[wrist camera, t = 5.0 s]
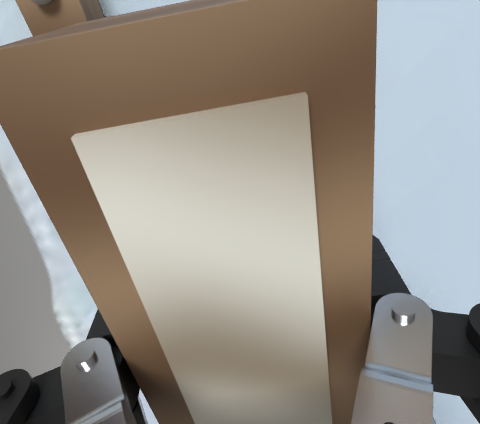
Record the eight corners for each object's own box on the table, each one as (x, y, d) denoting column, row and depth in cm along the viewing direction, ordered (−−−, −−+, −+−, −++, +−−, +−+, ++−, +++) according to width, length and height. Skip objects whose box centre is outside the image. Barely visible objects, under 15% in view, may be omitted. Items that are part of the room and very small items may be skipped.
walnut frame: (333, 369, 18) (369, 498, 13) (209, 385, 18) (204, 516, 14) (308, -24, 9) (382, -26, 5) (78, 22, 10) (-44, 59, 5)
